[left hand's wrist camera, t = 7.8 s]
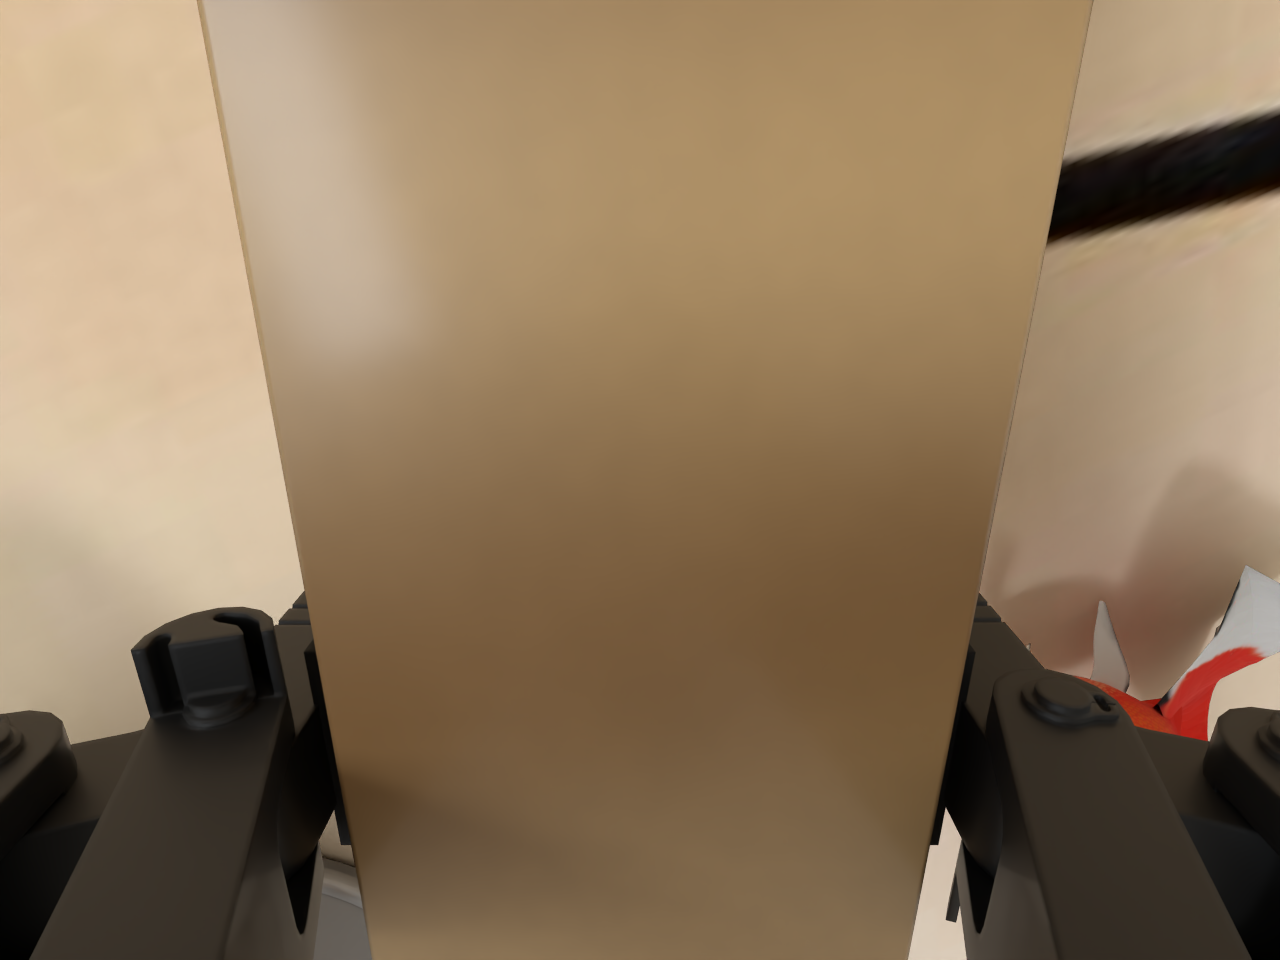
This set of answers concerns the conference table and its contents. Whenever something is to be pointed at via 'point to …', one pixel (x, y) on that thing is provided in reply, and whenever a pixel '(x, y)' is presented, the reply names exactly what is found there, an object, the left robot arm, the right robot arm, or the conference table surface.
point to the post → (642, 439)
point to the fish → (1247, 635)
